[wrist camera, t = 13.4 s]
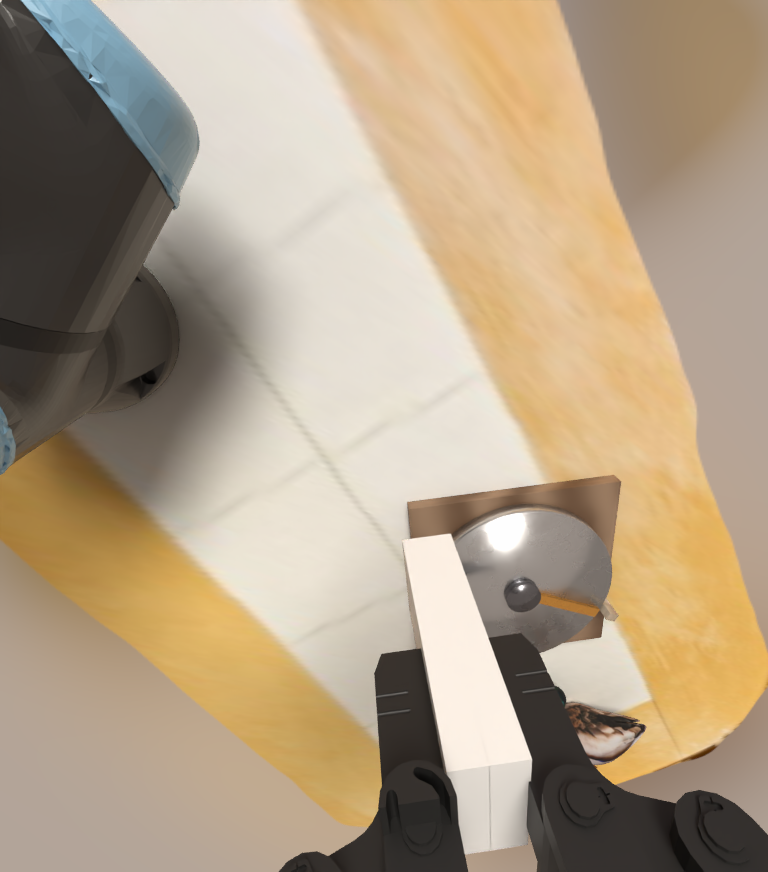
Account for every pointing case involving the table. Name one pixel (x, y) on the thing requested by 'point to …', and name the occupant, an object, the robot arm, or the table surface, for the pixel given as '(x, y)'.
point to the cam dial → (534, 572)
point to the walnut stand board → (580, 497)
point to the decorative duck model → (602, 731)
